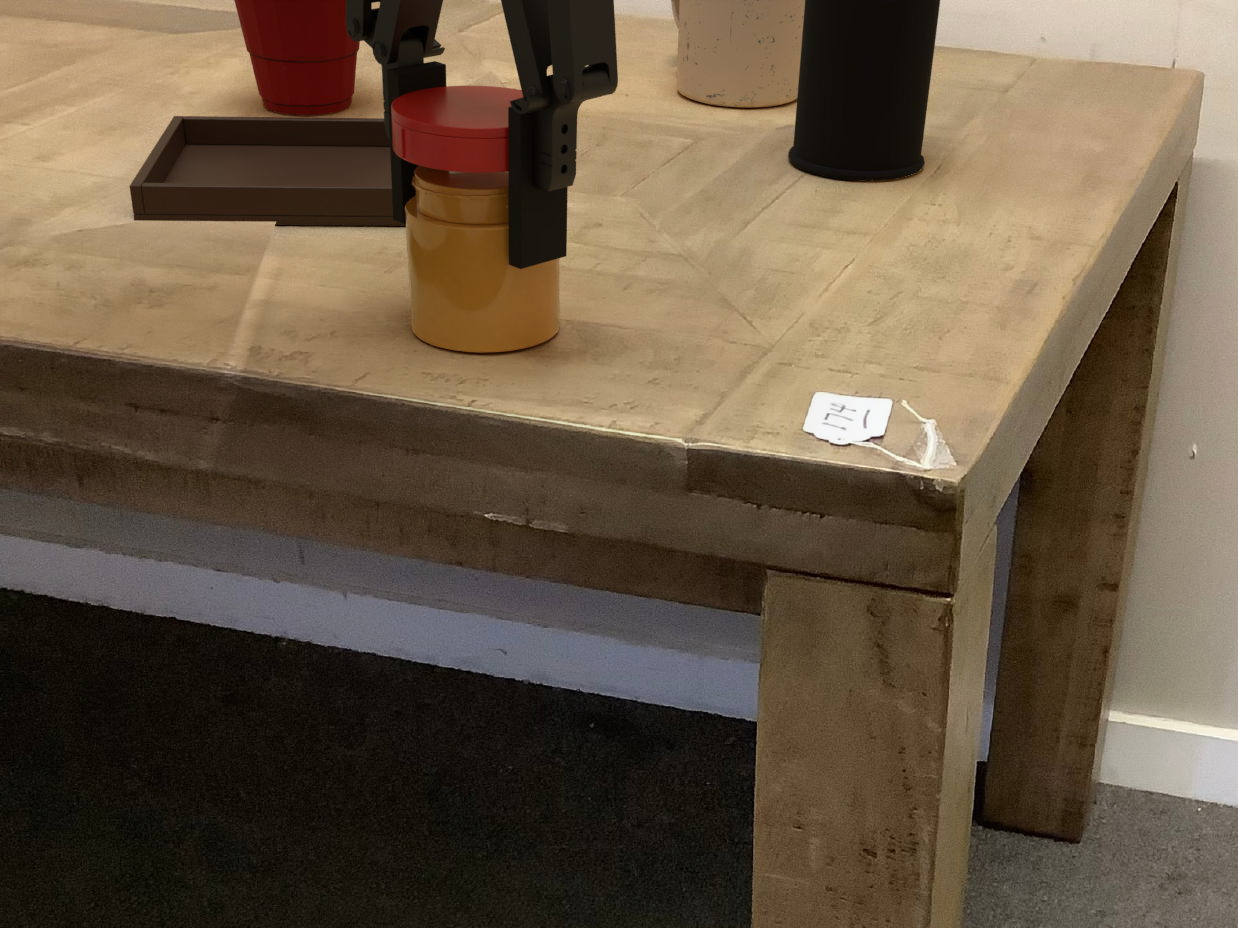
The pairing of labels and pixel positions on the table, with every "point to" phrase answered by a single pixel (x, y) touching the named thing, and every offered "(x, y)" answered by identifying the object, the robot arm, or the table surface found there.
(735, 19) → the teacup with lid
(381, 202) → the tray
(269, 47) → the plastic cup
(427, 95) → the cap
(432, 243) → the jar
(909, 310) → the table surface
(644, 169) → the table surface
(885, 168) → the aerosol can
